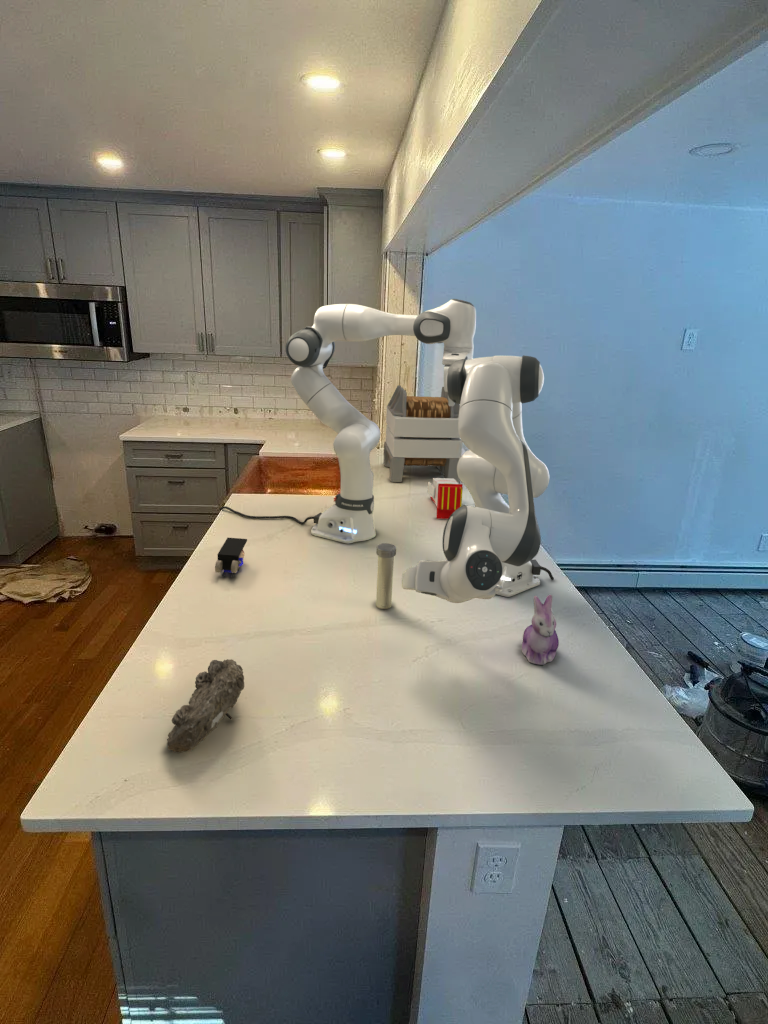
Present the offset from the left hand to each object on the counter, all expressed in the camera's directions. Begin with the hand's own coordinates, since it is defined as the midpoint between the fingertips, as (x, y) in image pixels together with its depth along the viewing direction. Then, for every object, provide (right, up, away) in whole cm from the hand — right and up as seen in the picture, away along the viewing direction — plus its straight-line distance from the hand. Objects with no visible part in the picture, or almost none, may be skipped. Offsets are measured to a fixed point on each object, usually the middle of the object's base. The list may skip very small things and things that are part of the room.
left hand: (454, 403), depth 174 cm
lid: (-21, -43, -29) cm, 55 cm away
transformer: (-4, -15, +101) cm, 102 cm away
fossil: (-54, -72, -66) cm, 112 cm away
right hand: (-9, -51, -44) cm, 68 cm away
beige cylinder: (-22, -58, -23) cm, 66 cm away
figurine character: (-66, -50, -7) cm, 84 cm away
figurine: (+15, -67, -42) cm, 80 cm away
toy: (+3, -32, +54) cm, 63 cm away
